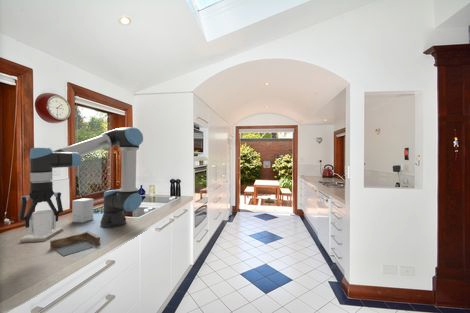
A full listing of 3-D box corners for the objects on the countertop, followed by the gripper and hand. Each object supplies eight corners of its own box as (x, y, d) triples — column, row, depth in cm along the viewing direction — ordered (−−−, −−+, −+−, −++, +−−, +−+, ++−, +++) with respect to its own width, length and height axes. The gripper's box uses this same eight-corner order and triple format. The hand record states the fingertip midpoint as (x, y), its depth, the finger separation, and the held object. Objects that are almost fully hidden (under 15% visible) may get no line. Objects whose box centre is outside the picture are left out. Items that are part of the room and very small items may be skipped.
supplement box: (93, 219, 154) (94, 198, 154) (83, 222, 146) (83, 201, 146) (83, 218, 156) (83, 197, 156) (71, 222, 147) (71, 200, 147)
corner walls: (88, 238, 118) (88, 231, 118) (100, 244, 110) (100, 237, 110) (50, 248, 105) (50, 240, 105) (60, 256, 97) (60, 248, 97)
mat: (83, 241, 114) (83, 241, 114) (92, 247, 107) (92, 246, 107) (54, 249, 104) (54, 248, 104) (63, 256, 97) (63, 255, 97)
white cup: (35, 232, 99) (35, 211, 99) (56, 229, 102) (56, 209, 102) (26, 238, 92) (26, 215, 92) (49, 235, 95) (49, 213, 95)
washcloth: (64, 230, 131) (64, 225, 131) (45, 242, 114) (45, 236, 114) (42, 232, 129) (42, 227, 129) (19, 244, 111) (19, 238, 111)
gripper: (66, 178, 107) (66, 223, 108) (7, 183, 91) (8, 236, 91) (71, 179, 103) (72, 226, 103) (11, 185, 86) (12, 240, 87)
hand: (42, 231), depth 97 cm, fingers closed on white cup, 7 cm apart
